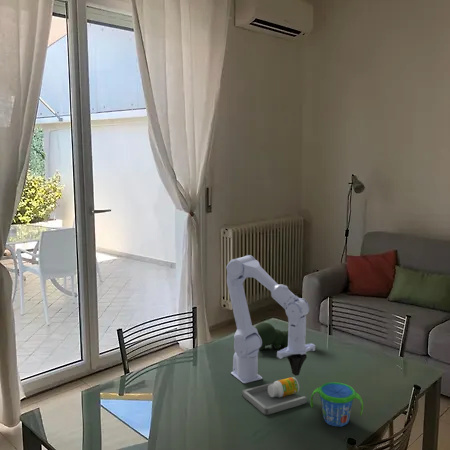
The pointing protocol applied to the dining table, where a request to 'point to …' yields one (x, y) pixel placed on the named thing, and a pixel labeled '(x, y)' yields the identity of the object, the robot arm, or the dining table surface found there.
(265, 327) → the toy figurine
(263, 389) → the tray
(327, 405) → the snack cup
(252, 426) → the dining table surface
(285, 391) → the supplement bottle
